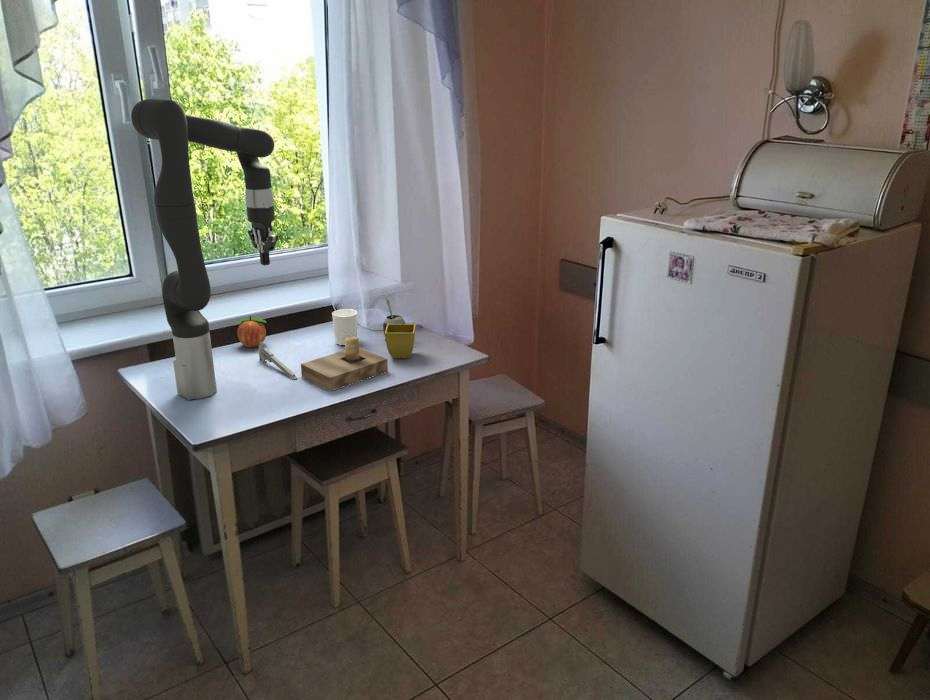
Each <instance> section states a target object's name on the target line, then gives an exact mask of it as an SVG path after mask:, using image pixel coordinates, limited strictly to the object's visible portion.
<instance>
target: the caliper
mask: <svg viewBox="0 0 930 700" xmlns="http://www.w3.org/2000/svg"><path fill="white" fill-rule="evenodd" d="M258 356H259V357H258V358H259V360H260V359H262V360H261V361H265V360H266V361H268V362H269V363H273V364H274V365H275V366H276V367H277V368H278V369H279V370H280V371H282V372H283V373H284V374H285V375H286V376H287V375H288V376H289V377H288V376H287V377H288V378H290V377H291V378H293V380H294V379H296V380H298V377H297V376H296V374H295V373H294V372H293V371H292V370H291V369H290V368H288V367H287V366H286V365H285V364H284V363H283V362H282V361H280V360H279V358H277V357H276V356H275V355H274V353H273V352H272V351H271V350H269V349H268V347H266V343H265V342H260V345H259V346H258ZM291 378H290V379H291Z"/></svg>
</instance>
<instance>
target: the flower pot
mask: <svg viewBox="0 0 930 700" xmlns="http://www.w3.org/2000/svg"><path fill="white" fill-rule="evenodd" d="M415 336H416V323H405V324H387V327H386V331H385V335H384V338H385V339H386V341H385V343H386V344H385V345H386V348H387V351H388V354H389V355H390V357H391V358H392V359H409V358H410V357H411V356H412V353H413V350H414V344H415V339H416V337H415Z"/></svg>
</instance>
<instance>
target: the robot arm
mask: <svg viewBox="0 0 930 700" xmlns="http://www.w3.org/2000/svg"><path fill="white" fill-rule="evenodd" d="M130 117H131V122H132V126H133V127H134V129H135V130H136V132H137V133H138V134H139V135H141V136H142V137H144V138H146V139H149V140H158V143H159V148H160V153H161V169H160V172H159V175H158V179H157V181H156V185H155V188H154V194H153V201H154V208H155V214H156V219H157V223H158V226H159V229H160V231H161V233H162V235H163V238H164V239H165V241H166V243H167V244H168V246H169V248H170V249H171V252H172V253H173V256H174V259H175V261H176V266H177V270H175V271H171V272H170V273H169V274H167V276H166V277H165V278H164V280H163V281H162V288H161V289H162V290H161V292H162V294H161V295H162V301H163V307H164V312H165V317H166V320H167V321H166V322H167V323H168V326H169V327H170V329H171V335H172V340H173V341H172V342H173V349H174V355H175V356H174V357H175V360H173V362H172V363H173V369H174V371H173V372H174V376H175V384H176V392H177V395H179V396H180V397H182V398H183V399H185V400H187V401H190V400H199V399H204V398H209V397H211V396H213V395H214V394H215V393H216V392H217V380H216V374H215V373H216V372H215V365H214V356H213V348H212V342H211V341H212V340H211V333H210V324H209V321H208V319H207V317H204V315H203V314H202V313H201V312H200V311H201V310H203V309H205V308H206V307H207V306H208V304H209V302H210V299H211V293H212V292H211V290H212V289H211V284H210V283H211V282H210V278H209V275H208V271H207V267H206V263H205V260H204V255H203V250H202V244H201V239H200V238H201V237H200V231H199V225H198V217H197V216H198V215H197V208H196V207H197V206H196V203H195V202H196V201H195V196H194V191H193V184H192V183H193V182H192V174H191V167H190V165H191V164H190V153H189V142H191V143H196V144H199V145H203V146H205V147H206V146H207V147H211V148H212V149H213V148H214V149H218V150H221V151H227V152H233V153H234V152H236V154H237V158H238V161H239V164H240V166H241V169H242V171H243V176H244V186H245V195H244V197H245V208H246V218H247V221H248V222H249V223H251V229H248V230H247V233H248V236H249V238H250V240H251V242H252V245H253V247H254V249H257V252H258V253H259V261H260V263H259V264H260V265H262V266H264V267H265V266H268V265H270V264H271V260H270V259H271V258H270V252H271V251H272V252H274V250H275V248H276V245H277V242H278V239H279V236H278V235H277V234H274V232H273V231H274V229H273V225H272V223H273V222H274V221H275V220H276V216H275V215H276V214H275V203H274V201H275V200H274V194H273V189H272V179H271V177H272V175H271V170H270V169H269V167H268V166H266V165H264V164H262V163H261V162H260V159H259V158H267V157H269V156H271V154H273V151H274V149H275V140H274V139H273V137H272V135H271V134H270V133H268V132H267V131H265V130H262V129H261V130H260V129H257V128H256V129H255V128H252V127H251V128H250V127H244V126H243V127H242V126H239V125H237V124H234V123H230V122H227V121H223V120H218V119H213V118H207V117H201V116H193V115H188V114H186V113H185V111H184V108H183V107H182V106H181V104H180V103H178V102H177V101H175V100H173V99H167V98H166V99H164V98H163V99H162V98H160V99H159V98H147V99H146V98H145V99H141V100H140V101H138V102H137V103H136V104H135V105H134V106H133V107H132V110H131V116H130Z"/></svg>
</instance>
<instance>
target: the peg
mask: <svg viewBox="0 0 930 700" xmlns="http://www.w3.org/2000/svg"><path fill="white" fill-rule="evenodd" d="M359 347H360V339H359V337H358V336H357V337H347V338H345V346H344V351H345V356H346V357H345V359H346V362H348V363H350V364H352V363H355V362H358V361H360V354H359Z"/></svg>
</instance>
